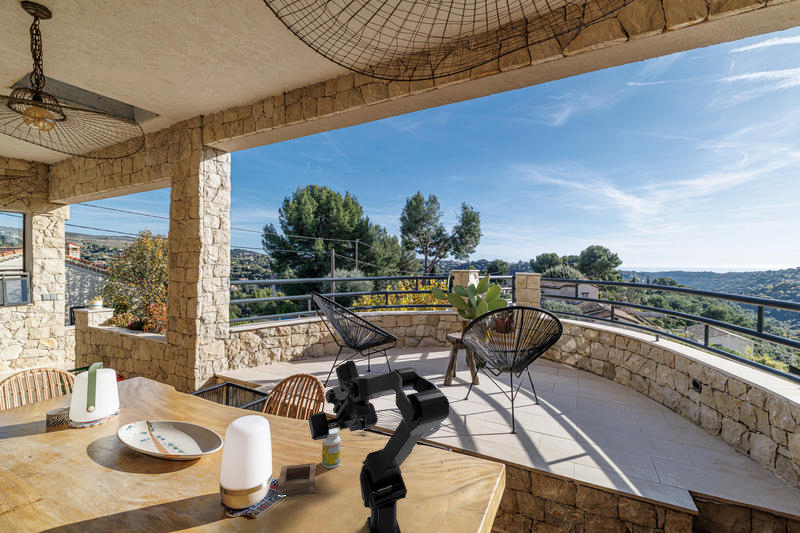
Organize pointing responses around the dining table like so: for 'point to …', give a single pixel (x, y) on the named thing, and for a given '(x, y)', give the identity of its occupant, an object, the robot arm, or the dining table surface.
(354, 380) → the robot arm
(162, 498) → the dining table surface
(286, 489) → the socket block
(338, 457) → the supplement bottle
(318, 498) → the dining table surface
